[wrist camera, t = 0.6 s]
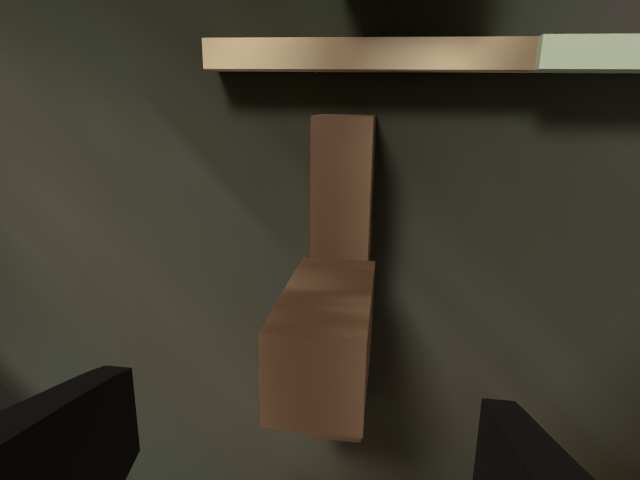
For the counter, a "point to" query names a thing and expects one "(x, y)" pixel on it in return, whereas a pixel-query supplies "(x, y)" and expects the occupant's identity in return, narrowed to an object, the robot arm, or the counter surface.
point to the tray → (588, 53)
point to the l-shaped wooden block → (326, 295)
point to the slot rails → (371, 54)
